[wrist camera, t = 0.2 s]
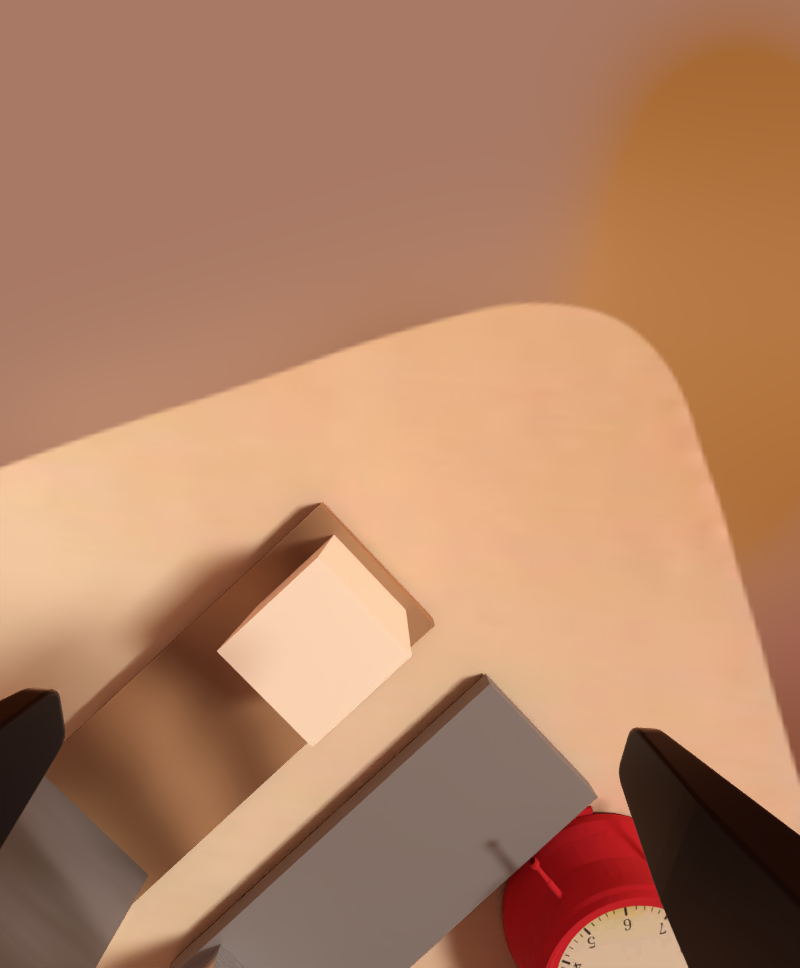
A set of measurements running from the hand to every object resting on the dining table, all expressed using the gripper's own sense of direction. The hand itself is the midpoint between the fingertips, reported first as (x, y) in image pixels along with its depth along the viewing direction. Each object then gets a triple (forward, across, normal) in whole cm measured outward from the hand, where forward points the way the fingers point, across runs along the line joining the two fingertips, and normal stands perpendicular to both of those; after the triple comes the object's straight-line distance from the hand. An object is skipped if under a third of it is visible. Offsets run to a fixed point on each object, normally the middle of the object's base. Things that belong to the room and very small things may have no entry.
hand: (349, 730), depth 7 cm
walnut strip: (+13, +7, +12) cm, 19 cm away
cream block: (+13, +2, +6) cm, 14 cm away
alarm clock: (+11, -14, +23) cm, 29 cm away
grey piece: (+11, -2, +20) cm, 23 cm away
